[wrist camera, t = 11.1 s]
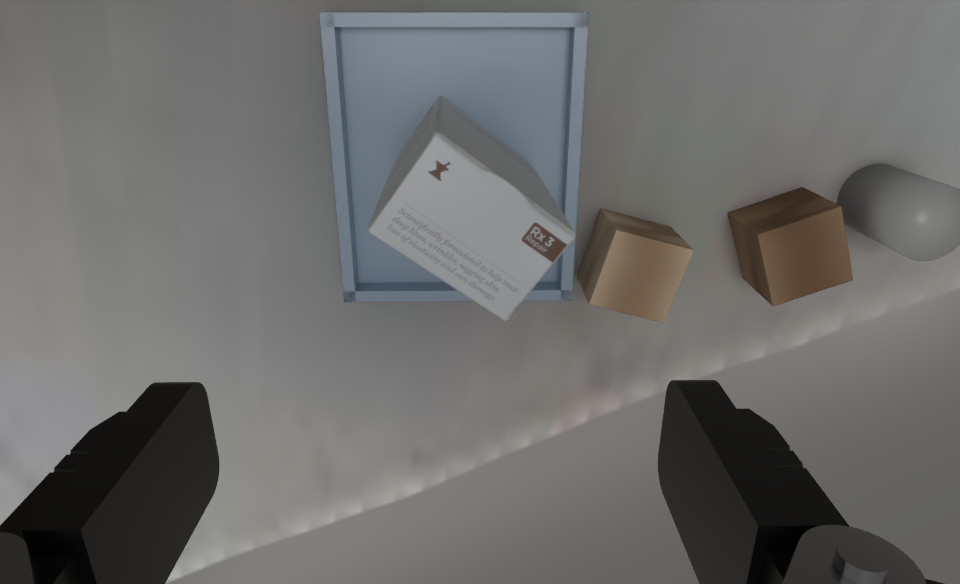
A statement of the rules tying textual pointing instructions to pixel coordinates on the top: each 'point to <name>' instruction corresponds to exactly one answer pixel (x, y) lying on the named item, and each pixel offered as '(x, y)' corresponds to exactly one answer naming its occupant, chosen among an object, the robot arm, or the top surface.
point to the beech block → (633, 266)
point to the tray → (471, 88)
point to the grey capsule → (902, 211)
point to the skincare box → (470, 211)
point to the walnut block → (791, 245)
